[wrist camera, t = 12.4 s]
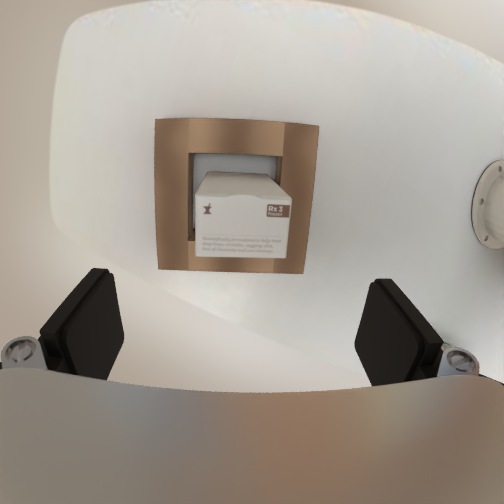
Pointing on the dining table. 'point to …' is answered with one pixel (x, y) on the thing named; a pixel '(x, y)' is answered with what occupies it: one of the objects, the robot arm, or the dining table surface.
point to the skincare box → (241, 216)
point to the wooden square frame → (233, 142)
